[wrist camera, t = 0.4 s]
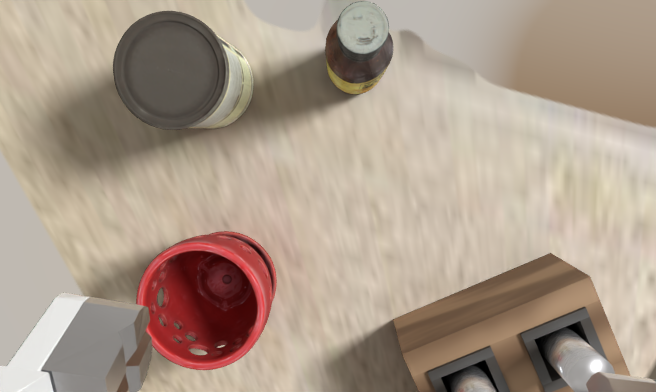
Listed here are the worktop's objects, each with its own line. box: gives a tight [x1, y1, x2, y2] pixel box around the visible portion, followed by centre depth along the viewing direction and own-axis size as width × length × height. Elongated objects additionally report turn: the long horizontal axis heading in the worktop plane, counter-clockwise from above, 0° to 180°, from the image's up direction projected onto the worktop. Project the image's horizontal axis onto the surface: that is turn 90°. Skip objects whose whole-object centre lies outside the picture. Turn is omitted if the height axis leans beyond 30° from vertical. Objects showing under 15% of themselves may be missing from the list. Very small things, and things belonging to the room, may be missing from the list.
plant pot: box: [136, 231, 276, 370], centre depth 58 cm, size 13×13×12 cm
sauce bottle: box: [325, 1, 393, 94], centre depth 50 cm, size 7×6×20 cm
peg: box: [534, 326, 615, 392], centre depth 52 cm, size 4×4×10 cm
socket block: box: [393, 253, 630, 392], centre depth 58 cm, size 12×20×10 cm, turn 114°
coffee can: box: [113, 11, 253, 130], centre depth 54 cm, size 10×10×14 cm
